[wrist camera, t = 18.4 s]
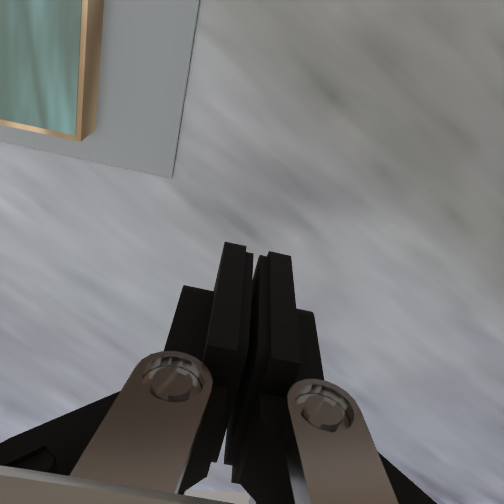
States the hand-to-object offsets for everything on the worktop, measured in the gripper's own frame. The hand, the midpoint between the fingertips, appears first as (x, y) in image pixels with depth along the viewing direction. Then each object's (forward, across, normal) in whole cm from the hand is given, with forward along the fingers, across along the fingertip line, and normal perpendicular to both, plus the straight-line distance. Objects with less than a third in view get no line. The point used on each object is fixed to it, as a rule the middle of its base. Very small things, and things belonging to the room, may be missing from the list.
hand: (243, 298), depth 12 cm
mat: (+26, +13, 0) cm, 29 cm away
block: (+24, +12, 0) cm, 26 cm away
